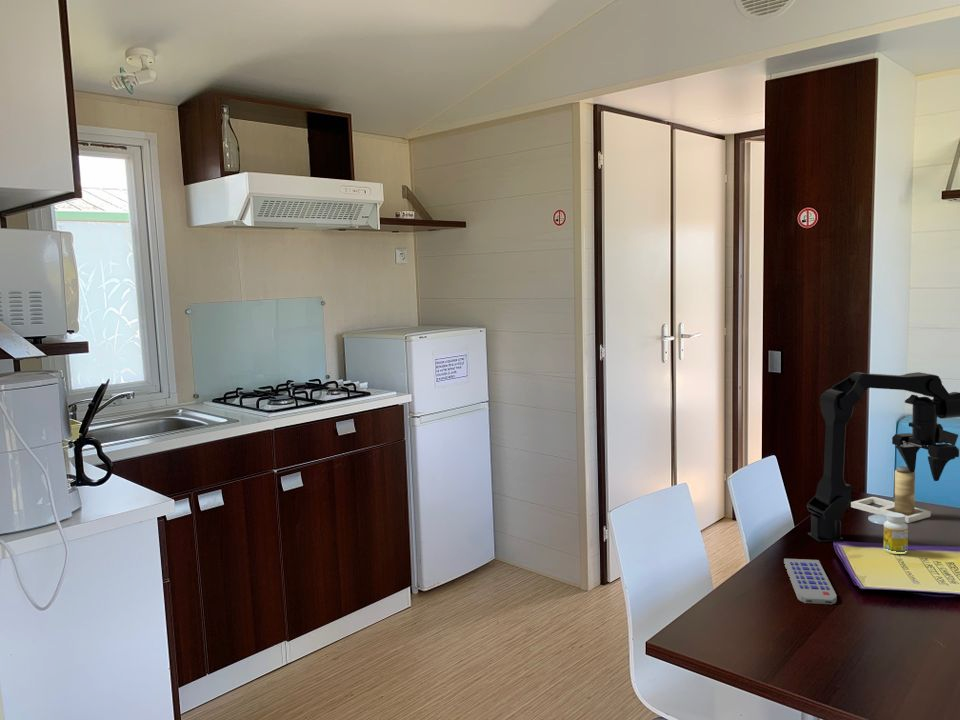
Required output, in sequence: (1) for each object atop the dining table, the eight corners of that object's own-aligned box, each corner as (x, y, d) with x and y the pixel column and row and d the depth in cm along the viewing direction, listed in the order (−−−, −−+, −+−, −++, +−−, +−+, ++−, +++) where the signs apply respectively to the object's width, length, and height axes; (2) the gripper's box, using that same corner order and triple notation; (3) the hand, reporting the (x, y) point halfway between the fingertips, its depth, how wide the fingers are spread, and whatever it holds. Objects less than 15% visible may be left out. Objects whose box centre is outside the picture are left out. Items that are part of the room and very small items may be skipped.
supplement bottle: (909, 556, 185) (910, 518, 184) (885, 554, 187) (885, 517, 186) (905, 548, 190) (905, 512, 189) (881, 546, 192) (882, 510, 191)
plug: (902, 519, 212) (902, 471, 210) (890, 513, 217) (891, 466, 215) (918, 517, 212) (919, 469, 211) (906, 512, 217) (907, 465, 216)
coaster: (881, 527, 206) (881, 525, 206) (861, 517, 215) (861, 515, 215) (911, 524, 207) (911, 523, 207) (890, 514, 216) (890, 513, 216)
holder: (908, 523, 208) (908, 517, 208) (851, 507, 224) (851, 502, 224) (930, 516, 212) (930, 511, 212) (873, 501, 229) (873, 496, 228)
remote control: (818, 567, 182) (818, 558, 182) (838, 606, 160) (838, 596, 160) (784, 565, 184) (784, 557, 184) (798, 604, 162) (798, 594, 162)
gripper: (979, 423, 191) (978, 483, 193) (927, 411, 210) (927, 466, 211) (939, 427, 190) (938, 486, 192) (891, 414, 209) (890, 469, 210)
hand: (923, 476), depth 201 cm, fingers open, 9 cm apart
